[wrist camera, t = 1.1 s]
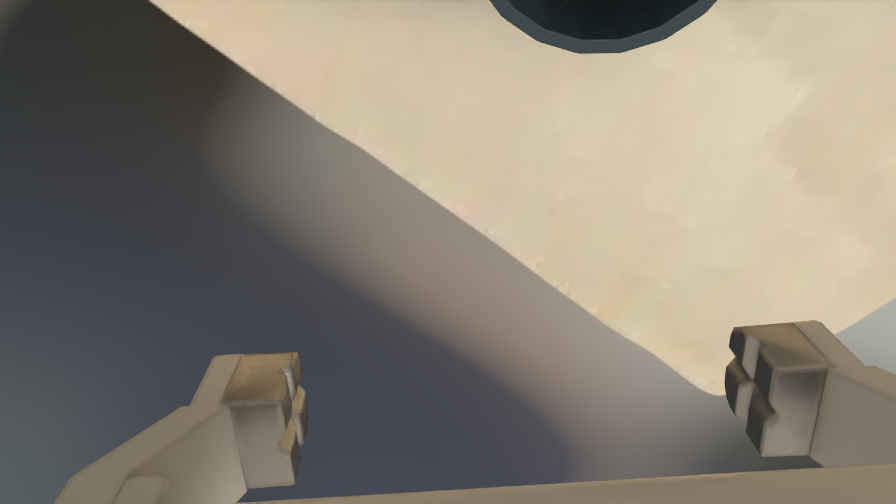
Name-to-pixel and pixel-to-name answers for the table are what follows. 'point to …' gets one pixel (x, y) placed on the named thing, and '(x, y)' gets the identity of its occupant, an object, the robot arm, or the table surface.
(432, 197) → the table surface
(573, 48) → the tin
